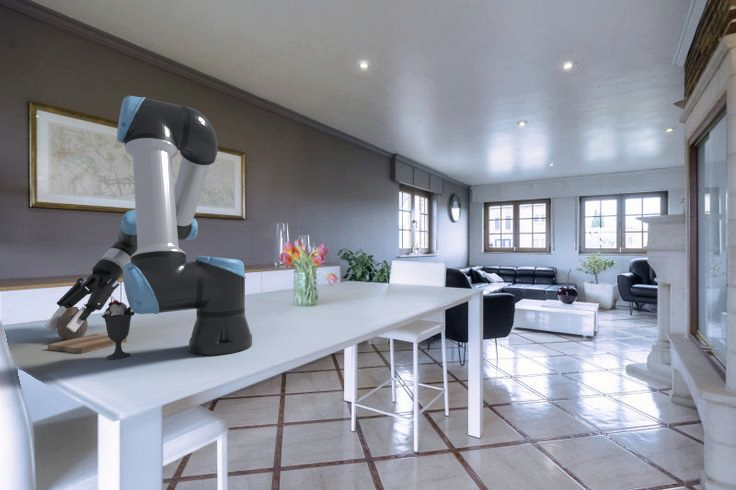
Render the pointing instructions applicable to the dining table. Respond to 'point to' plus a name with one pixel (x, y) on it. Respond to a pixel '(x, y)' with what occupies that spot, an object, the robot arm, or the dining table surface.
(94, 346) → the walnut board
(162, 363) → the dining table surface
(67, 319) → the vase
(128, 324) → the sundae
